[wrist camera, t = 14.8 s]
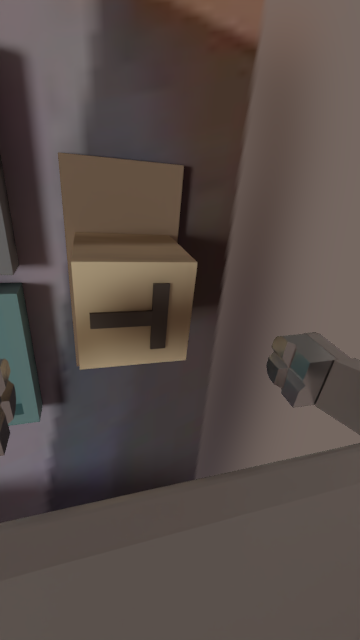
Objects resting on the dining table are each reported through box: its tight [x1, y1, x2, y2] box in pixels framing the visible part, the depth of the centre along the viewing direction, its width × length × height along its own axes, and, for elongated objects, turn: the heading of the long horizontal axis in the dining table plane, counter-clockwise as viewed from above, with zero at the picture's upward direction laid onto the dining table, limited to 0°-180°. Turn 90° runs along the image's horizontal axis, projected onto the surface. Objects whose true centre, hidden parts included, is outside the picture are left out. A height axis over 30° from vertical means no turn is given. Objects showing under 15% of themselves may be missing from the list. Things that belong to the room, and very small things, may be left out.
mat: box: [58, 153, 184, 366], centre depth 17 cm, size 12×6×1 cm, turn 175°
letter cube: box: [71, 232, 198, 370], centre depth 15 cm, size 5×5×5 cm
